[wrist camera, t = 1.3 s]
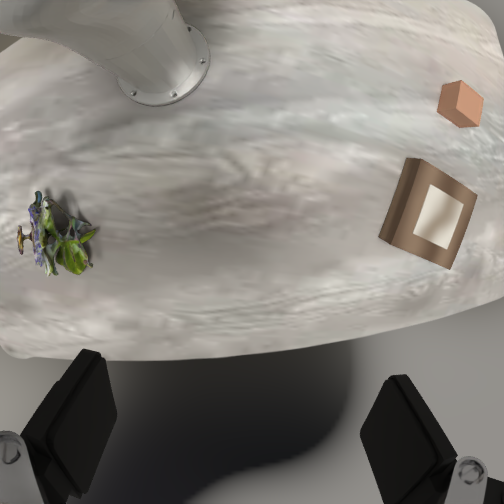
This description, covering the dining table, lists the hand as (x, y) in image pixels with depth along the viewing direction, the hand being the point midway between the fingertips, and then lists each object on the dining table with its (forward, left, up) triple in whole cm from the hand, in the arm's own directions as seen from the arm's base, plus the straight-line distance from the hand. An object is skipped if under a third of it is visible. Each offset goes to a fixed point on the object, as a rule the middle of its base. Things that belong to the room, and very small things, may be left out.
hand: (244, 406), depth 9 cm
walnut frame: (+8, +25, -31) cm, 40 cm away
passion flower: (-9, -24, -31) cm, 40 cm away
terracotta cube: (-6, +36, -31) cm, 48 cm away
